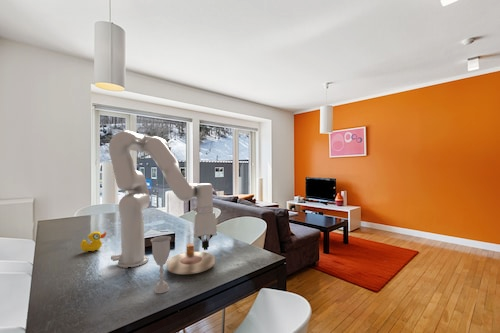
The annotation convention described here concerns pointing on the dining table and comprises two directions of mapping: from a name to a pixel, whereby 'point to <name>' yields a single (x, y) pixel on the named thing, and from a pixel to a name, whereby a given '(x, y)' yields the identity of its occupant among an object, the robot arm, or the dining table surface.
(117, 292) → the dining table surface
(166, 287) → the chalice
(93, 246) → the duckling
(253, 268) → the dining table surface
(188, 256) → the turntable
